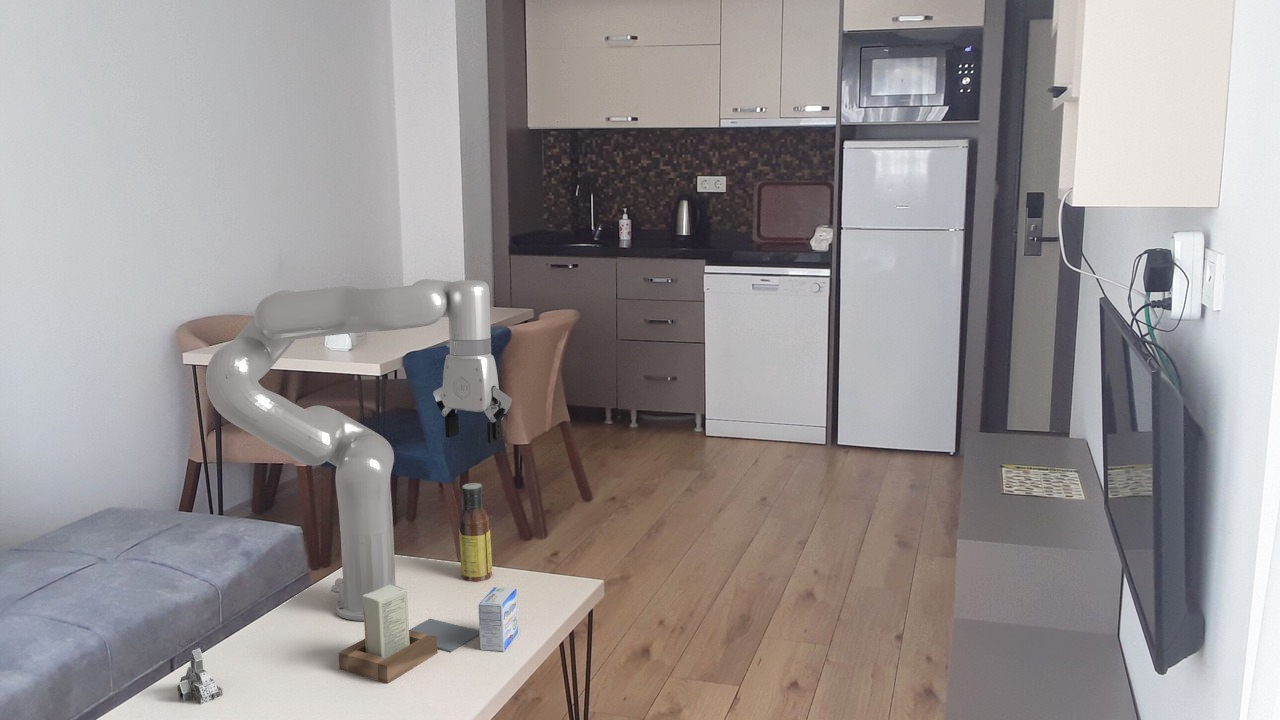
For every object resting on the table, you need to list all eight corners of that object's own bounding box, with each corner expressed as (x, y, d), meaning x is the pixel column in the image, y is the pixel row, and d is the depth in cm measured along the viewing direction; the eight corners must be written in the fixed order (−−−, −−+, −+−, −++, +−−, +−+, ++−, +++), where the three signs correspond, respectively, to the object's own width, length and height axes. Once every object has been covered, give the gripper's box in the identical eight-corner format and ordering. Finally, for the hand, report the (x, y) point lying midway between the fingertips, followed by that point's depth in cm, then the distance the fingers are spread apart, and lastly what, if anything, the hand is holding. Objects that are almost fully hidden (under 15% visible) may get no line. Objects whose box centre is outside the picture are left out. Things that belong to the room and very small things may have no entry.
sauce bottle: (478, 571, 218) (475, 478, 214) (499, 578, 214) (496, 484, 210) (453, 580, 213) (450, 485, 209) (474, 587, 209) (471, 491, 205)
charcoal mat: (396, 638, 185) (396, 636, 185) (430, 620, 193) (429, 618, 193) (450, 652, 180) (450, 650, 179) (482, 633, 187) (482, 631, 187)
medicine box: (504, 652, 180) (502, 604, 178) (479, 650, 180) (477, 602, 179) (518, 633, 187) (517, 587, 186) (494, 631, 188) (493, 585, 187)
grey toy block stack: (141, 701, 164) (137, 654, 162) (194, 680, 170) (191, 636, 169) (171, 718, 158) (167, 671, 157) (224, 696, 165) (221, 650, 164)
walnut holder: (339, 669, 173) (338, 652, 173) (390, 641, 184) (390, 625, 184) (387, 683, 168) (386, 665, 168) (437, 653, 179) (436, 636, 179)
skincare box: (394, 650, 180) (391, 583, 178) (411, 657, 178) (408, 589, 176) (364, 663, 176) (361, 594, 174) (381, 671, 173) (378, 600, 171)
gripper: (420, 347, 193) (423, 438, 196) (496, 354, 185) (499, 448, 188) (446, 342, 200) (449, 430, 203) (521, 348, 192) (523, 439, 195)
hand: (473, 438), depth 195 cm, fingers open, 9 cm apart
